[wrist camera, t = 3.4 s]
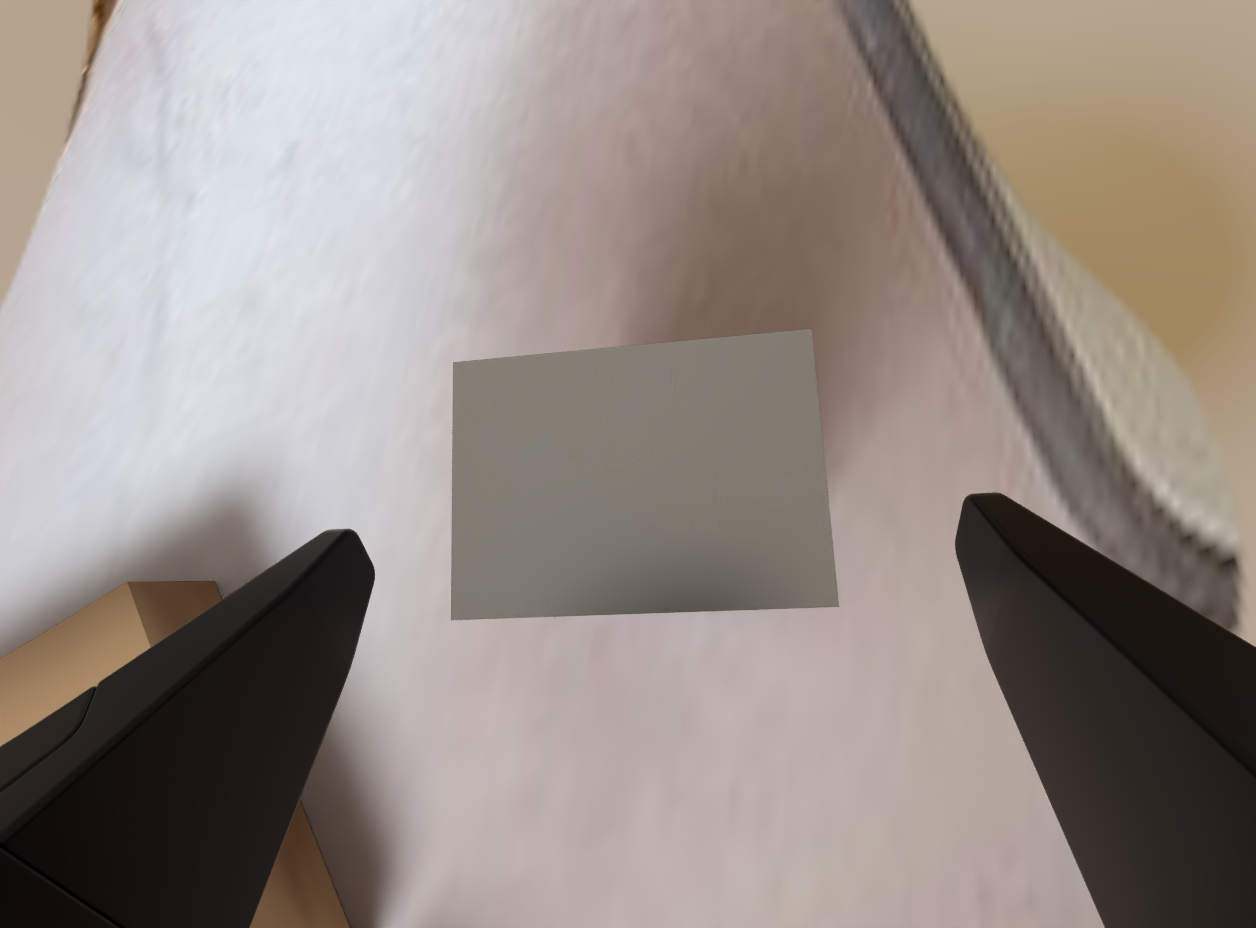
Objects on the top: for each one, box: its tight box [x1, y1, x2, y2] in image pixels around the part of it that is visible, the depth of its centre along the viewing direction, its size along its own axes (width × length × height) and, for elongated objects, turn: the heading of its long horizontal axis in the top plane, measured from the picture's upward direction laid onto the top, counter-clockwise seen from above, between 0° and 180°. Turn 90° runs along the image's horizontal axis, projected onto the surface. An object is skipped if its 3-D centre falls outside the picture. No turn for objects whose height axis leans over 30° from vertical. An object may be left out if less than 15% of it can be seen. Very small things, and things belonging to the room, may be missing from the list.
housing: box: [451, 329, 839, 620], centre depth 13 cm, size 4×6×10 cm
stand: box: [0, 581, 350, 928], centre depth 18 cm, size 12×12×3 cm
